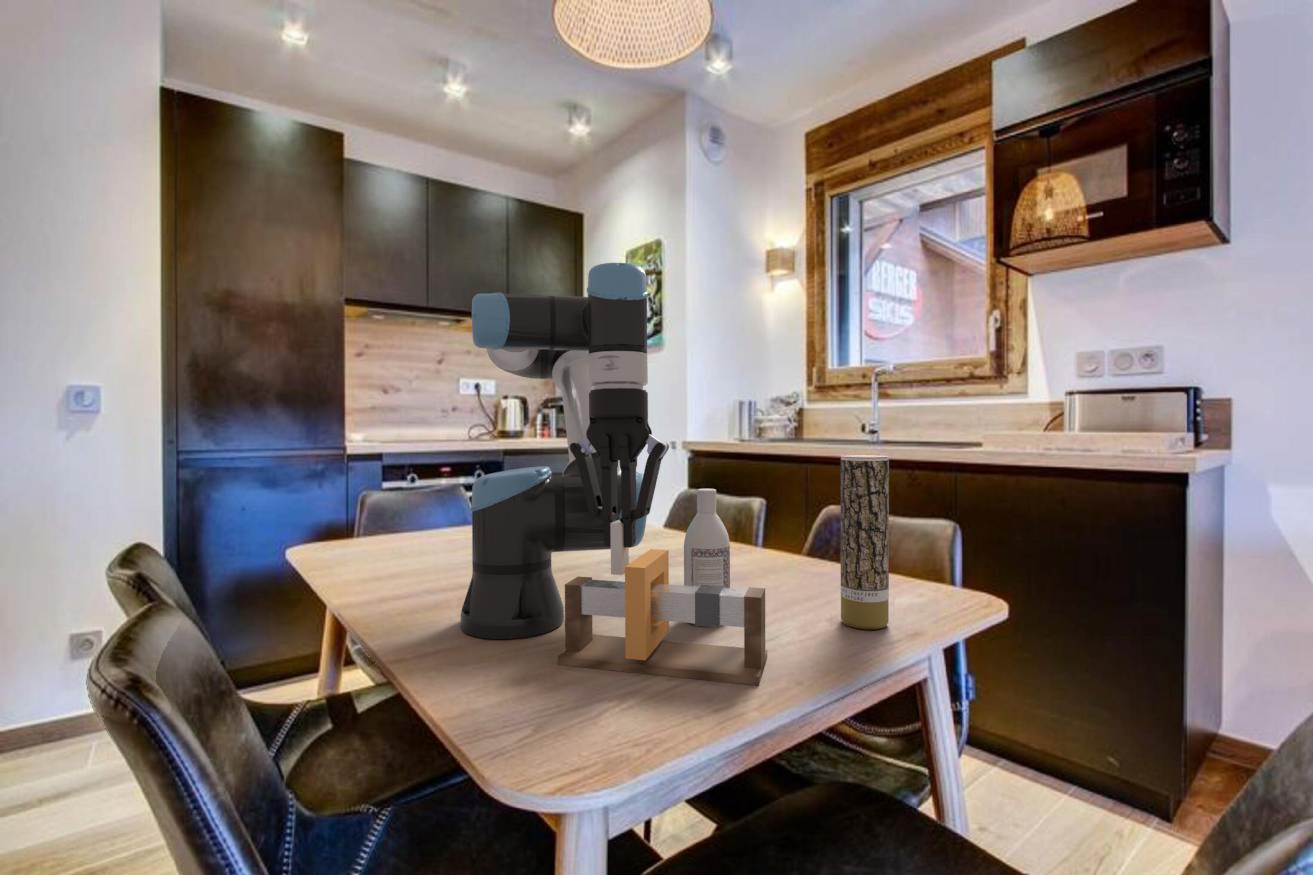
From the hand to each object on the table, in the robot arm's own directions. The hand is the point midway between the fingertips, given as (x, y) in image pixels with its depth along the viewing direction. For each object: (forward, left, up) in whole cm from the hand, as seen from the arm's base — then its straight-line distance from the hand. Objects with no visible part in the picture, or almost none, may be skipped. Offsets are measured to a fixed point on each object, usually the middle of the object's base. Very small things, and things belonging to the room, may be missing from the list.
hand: (620, 572), depth 82 cm
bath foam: (+8, +18, -11) cm, 23 cm away
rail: (+6, 0, -6) cm, 8 cm away
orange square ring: (+4, 0, -9) cm, 10 cm away
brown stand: (+6, 0, -11) cm, 12 cm away
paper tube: (+31, +22, -11) cm, 40 cm away
